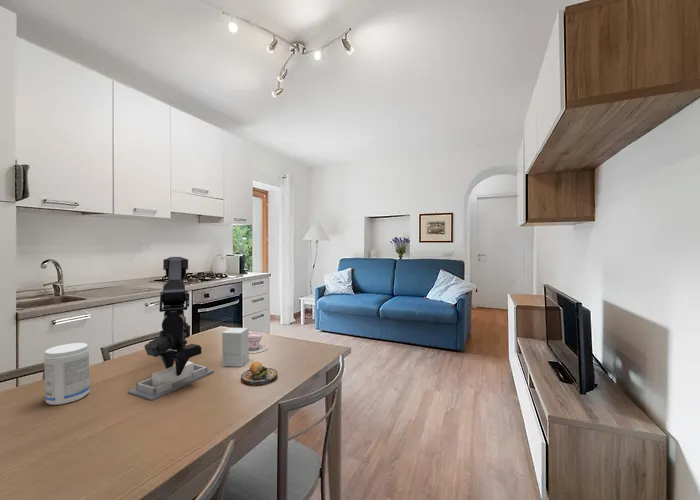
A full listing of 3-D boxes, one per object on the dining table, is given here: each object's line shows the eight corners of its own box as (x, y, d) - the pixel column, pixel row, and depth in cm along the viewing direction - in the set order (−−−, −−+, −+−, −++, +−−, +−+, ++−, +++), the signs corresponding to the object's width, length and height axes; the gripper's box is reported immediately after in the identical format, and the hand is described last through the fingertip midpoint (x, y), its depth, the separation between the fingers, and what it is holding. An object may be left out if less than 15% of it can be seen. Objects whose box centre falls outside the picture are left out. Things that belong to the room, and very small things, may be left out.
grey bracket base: (127, 393, 94) (127, 385, 94) (191, 367, 114) (191, 360, 114) (151, 400, 89) (151, 392, 89) (213, 372, 109) (213, 365, 109)
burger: (281, 382, 103) (282, 359, 103) (245, 390, 97) (245, 366, 97) (271, 369, 113) (271, 349, 113) (237, 376, 107) (237, 354, 107)
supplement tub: (93, 387, 97) (93, 340, 97) (83, 401, 88) (83, 350, 88) (52, 394, 93) (52, 344, 92) (37, 409, 84) (37, 355, 84)
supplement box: (249, 360, 122) (249, 327, 121) (240, 367, 114) (241, 333, 114) (231, 359, 122) (231, 327, 122) (221, 366, 115) (221, 332, 115)
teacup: (259, 343, 143) (259, 329, 143) (272, 349, 134) (272, 335, 134) (233, 348, 135) (234, 334, 135) (246, 356, 126) (246, 341, 126)
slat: (152, 386, 97) (152, 373, 97) (186, 372, 108) (186, 360, 108) (159, 388, 95) (159, 375, 95) (193, 374, 106) (193, 362, 106)
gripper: (129, 328, 98) (130, 378, 98) (170, 336, 90) (170, 390, 90) (163, 321, 108) (163, 365, 108) (202, 327, 100) (202, 375, 100)
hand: (174, 374), depth 101 cm, fingers open, 4 cm apart
